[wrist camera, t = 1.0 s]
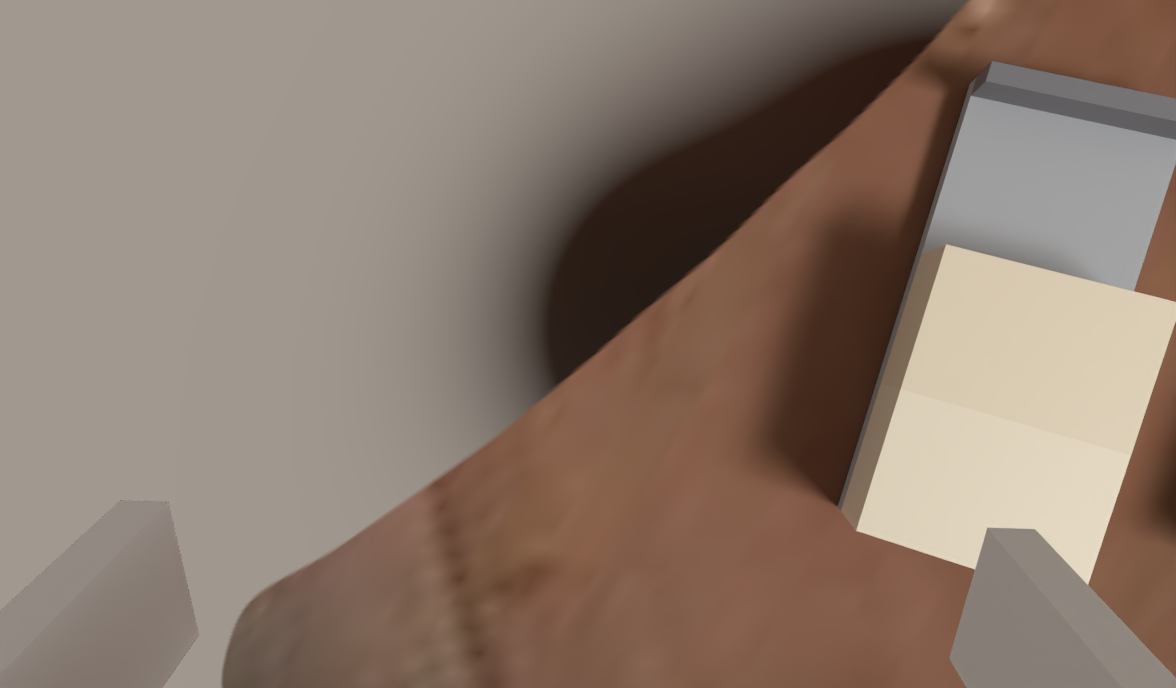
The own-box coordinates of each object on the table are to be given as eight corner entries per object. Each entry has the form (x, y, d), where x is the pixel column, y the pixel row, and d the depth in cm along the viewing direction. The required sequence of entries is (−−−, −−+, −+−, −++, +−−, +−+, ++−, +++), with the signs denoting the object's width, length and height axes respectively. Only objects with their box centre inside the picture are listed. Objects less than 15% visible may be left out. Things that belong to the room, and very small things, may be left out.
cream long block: (1176, 127, 35) (1251, 91, 30) (1031, 568, 36) (1081, 604, 31) (969, 83, 37) (1009, 43, 32) (837, 506, 38) (856, 530, 33)
